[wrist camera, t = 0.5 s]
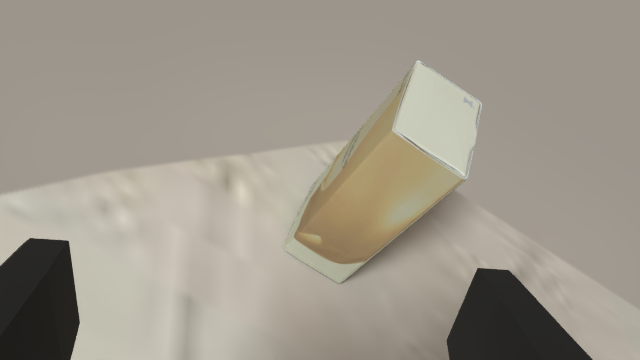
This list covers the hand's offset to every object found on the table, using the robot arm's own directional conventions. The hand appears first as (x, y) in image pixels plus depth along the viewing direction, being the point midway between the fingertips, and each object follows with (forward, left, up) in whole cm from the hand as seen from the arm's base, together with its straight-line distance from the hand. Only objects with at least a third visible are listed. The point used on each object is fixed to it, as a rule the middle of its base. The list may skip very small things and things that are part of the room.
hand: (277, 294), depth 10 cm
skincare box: (+16, -9, -18) cm, 26 cm away
